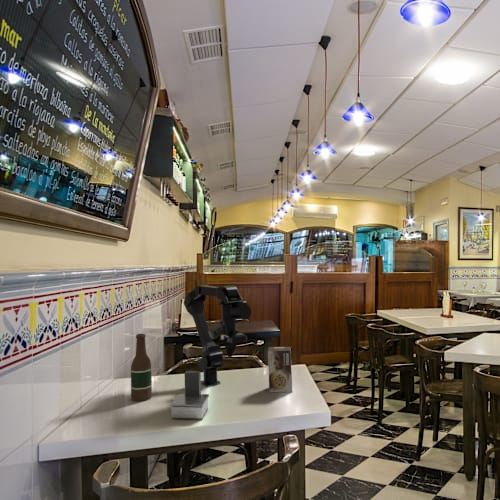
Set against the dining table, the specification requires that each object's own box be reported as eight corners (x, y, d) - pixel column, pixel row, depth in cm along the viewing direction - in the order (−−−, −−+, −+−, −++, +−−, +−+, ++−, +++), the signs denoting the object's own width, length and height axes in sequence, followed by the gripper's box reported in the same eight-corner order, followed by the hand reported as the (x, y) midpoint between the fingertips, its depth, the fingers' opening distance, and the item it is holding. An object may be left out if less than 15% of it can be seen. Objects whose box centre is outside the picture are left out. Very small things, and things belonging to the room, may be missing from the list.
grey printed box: (292, 387, 149) (291, 346, 149) (292, 392, 142) (291, 350, 143) (269, 386, 150) (268, 346, 150) (268, 392, 143) (267, 350, 144)
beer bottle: (146, 402, 136) (145, 336, 137) (126, 401, 137) (126, 336, 138) (155, 395, 143) (154, 332, 144) (137, 394, 145) (136, 332, 146)
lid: (179, 395, 130) (178, 370, 130) (208, 396, 129) (208, 370, 129) (170, 406, 120) (169, 379, 120) (202, 406, 119) (202, 379, 119)
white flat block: (179, 408, 129) (179, 397, 129) (208, 409, 128) (207, 397, 128) (171, 419, 120) (171, 407, 120) (202, 420, 119) (201, 407, 119)
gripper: (201, 316, 152) (201, 355, 151) (220, 322, 135) (221, 365, 135) (225, 314, 157) (226, 351, 157) (247, 319, 141) (248, 361, 140)
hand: (229, 357), depth 147 cm, fingers closed
